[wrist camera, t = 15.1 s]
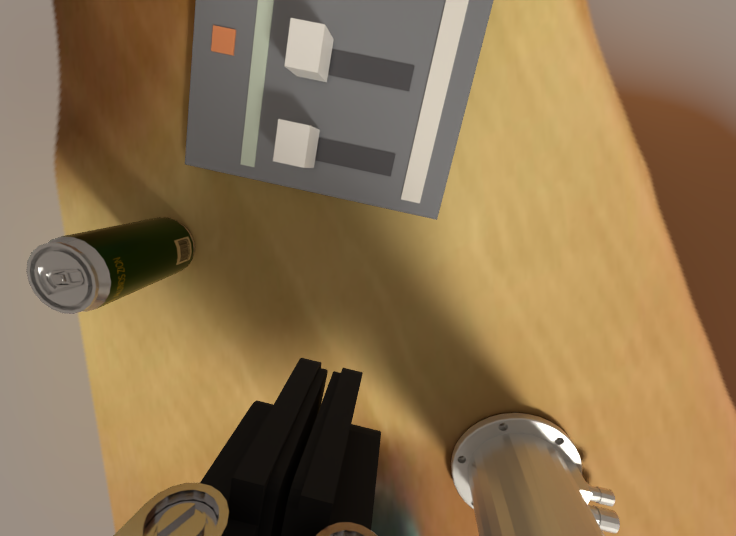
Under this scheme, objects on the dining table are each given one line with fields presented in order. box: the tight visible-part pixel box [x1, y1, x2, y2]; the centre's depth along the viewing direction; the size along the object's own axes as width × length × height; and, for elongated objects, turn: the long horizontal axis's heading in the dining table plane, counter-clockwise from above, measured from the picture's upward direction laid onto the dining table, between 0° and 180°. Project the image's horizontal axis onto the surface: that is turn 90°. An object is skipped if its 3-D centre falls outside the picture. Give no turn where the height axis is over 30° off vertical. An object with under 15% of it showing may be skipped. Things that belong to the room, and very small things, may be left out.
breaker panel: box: [185, 0, 493, 220], centre depth 28 cm, size 22×20×5 cm
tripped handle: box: [284, 18, 334, 82], centre depth 27 cm, size 2×3×3 cm
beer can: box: [27, 217, 195, 314], centre depth 30 cm, size 5×5×12 cm
